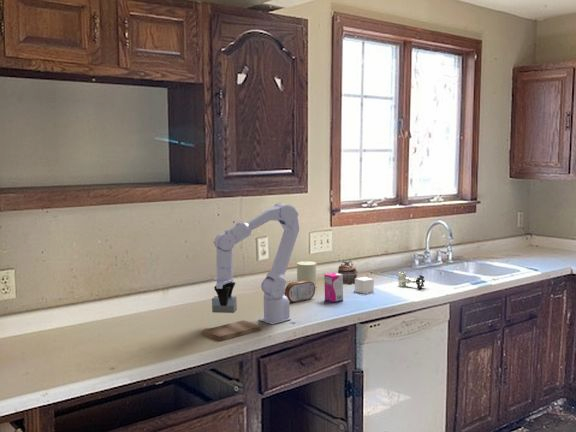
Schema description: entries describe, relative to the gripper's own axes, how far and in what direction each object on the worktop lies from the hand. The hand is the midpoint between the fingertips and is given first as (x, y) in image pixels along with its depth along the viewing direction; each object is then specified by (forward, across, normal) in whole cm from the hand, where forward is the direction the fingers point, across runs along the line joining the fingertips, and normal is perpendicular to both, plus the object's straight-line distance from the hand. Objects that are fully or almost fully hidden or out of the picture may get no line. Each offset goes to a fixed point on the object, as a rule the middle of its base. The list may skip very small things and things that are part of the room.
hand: (225, 303), depth 211 cm
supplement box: (+9, -43, +35) cm, 56 cm away
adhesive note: (+9, -62, +47) cm, 78 cm away
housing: (+3, 0, 0) cm, 3 cm away
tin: (+9, -41, +21) cm, 47 cm away
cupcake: (+9, -81, +38) cm, 90 cm away
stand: (+8, +6, +4) cm, 11 cm away
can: (+9, -66, +20) cm, 70 cm away
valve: (+9, -74, +68) cm, 100 cm away
